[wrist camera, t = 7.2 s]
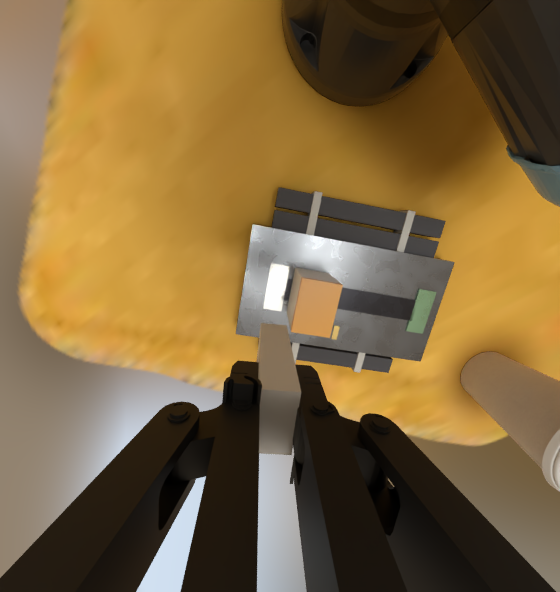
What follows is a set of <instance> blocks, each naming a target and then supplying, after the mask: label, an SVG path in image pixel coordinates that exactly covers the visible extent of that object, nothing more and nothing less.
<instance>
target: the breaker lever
mask: <svg viewBox="0 0 560 592" xmlns="http://www.w3.org/2000/svg"><path fill="white" fill-rule="evenodd" d="M342 287H343V285H342V284H341V283H340V282H338V281H337V280H336V279H335V278H334V277H333V276H331V275H330V274H329V273H324V272H319V271H313V270H307V269H302V268H296V267H295V272H294V277H293V282H292V287H291V292H290V297H289V302H288V307H287V317H288V321H289V325H290V329H291V332H294V333H300V334H307V335H313V336H320V337H327V338H330V335H331V331H332V327H333V323H334V319H335V315H336V311H337V307H338V303H339V299H340V295H341V291H342Z"/></svg>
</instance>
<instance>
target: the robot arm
mask: <svg viewBox="0 0 560 592" xmlns="http://www.w3.org/2000/svg"><path fill="white" fill-rule="evenodd" d="M282 22H283V30H284V35H285V39H286V43H287V46H288V49H289V52H290V55H291V57H292V59H293V61H294V63H295V65H296V67H297V69H298V70H299V72H300V73H301V75H302V76H303V77H304V79H305V80H306V81H307V82H308V83H309V84H310V85H311V86H312V87H313V88H314V89H315V90H316V91H318V92H319V93H320V94H322V95H323V96H325V97H327V98H328V99H330V100H332V101H335V102H337V103H341V104H344V105H349V106H368V105H373V104H377V103H380V102H383V101H386V100H388V99H390V98H392V97H394V96H395V95H397V94H398V93H400V92H401V91H403V90H404V89H405V88H406V87H407V86H409V85H410V84H411V83H412V82H413V81H414V80H415V79H416V78H417V77H418V76H419V75H420V74H421V73H422V72H423V71H424V70H425V69H426V68H427V67H428V65H429V64H430V63H431V62H432V60H433V59H434V57H435V56H436V54H437V53H438V51H439V50H440V48H441V46H442V45H443V43H444V41H445V39H446V37H447V34H448V35H449V36H450V38H451V40H452V43H453V44H454V46H455V48H456V50H457V52H458V54H459V55H460V57H461V59H462V61H463V63H464V65H465V66H466V68H467V70H468V72H469V74H470V76H471V77H472V79H473V81H474V83H475V85H476V87H477V88H478V90H479V92H480V94H481V96H482V98H483V99H484V101H485V103H486V105H487V107H488V109H489V110H490V112H491V114H492V116H493V118H494V120H495V121H496V123H497V125H498V127H499V129H500V131H501V133H502V134H503V136H504V138H505V140H506V142H507V144H508V146H507V148H506V149H507V152H508V155H509V156H510V158H511V159H512V160H513V161H514V162H516V163H518V164H519V165H520V166H521V167H522V169H523V170H524V172H525V173H526V175H527V177H528V178H529V180H530V181H531V183H532V184H533V186H534V187H535V189H536V190H537V192H538V193H539V194H540V195H541V196H542V197H543V198H545V199H546V200H547V201H549V202H551V203H553V204H555V205H557V206H560V0H282ZM293 447H294V459H293V466H292V472H291V478H290V484H293V480H294V484H295V492H296V502H297V510H298V519H299V528H300V537H301V545H302V553H303V562H304V571H305V580H306V589H307V592H556V591H555V590H554V589H553V588H552V587H551V586H550V585H549V584H548V583H547V582H546V581H545V580H544V579H543V578H542V577H541V575H540V574H539V573H538V572H537V571H536V570H535V569H534V568H533V567H532V566H531V565H530V564H529V563H528V562H527V561H526V560H525V559H524V558H523V557H522V556H521V555H520V554H519V553H518V552H517V550H516V549H515V548H514V547H513V546H512V545H511V544H510V543H509V542H508V541H507V540H506V539H505V538H504V537H503V536H502V535H501V534H500V533H499V532H498V531H497V530H496V528H495V527H494V526H493V525H492V524H491V523H489V521H488V520H487V519H486V518H485V517H484V516H483V515H482V514H481V513H480V512H479V511H478V510H477V509H476V508H475V507H474V505H473V504H472V503H470V501H469V500H468V499H467V498H466V497H465V496H464V495H463V494H462V493H461V492H460V491H459V490H458V489H457V488H456V487H455V486H454V485H453V484H452V483H451V481H450V480H449V479H448V478H447V477H446V476H445V475H444V474H443V473H442V472H441V471H440V470H439V469H438V468H437V467H436V466H435V465H434V464H433V463H432V462H431V461H430V460H429V459H428V457H427V456H426V455H425V454H424V453H423V452H422V451H421V450H420V449H419V448H418V447H417V446H416V445H415V444H414V443H413V442H412V441H411V440H410V439H409V438H408V437H407V436H406V434H405V433H404V432H403V431H402V430H401V429H400V428H399V427H398V426H397V425H396V424H395V423H394V422H392V421H391V420H390V419H388V418H386V417H384V416H382V415H379V414H365V415H363V416H362V417H361V419H360V422H356V421H353V420H350V419H347V418H344V417H342V416H340V415H339V413H338V410H337V409H336V407H335V406H334V405H333V404H331V403H330V402H328V401H327V399H326V396H325V393H324V390H323V387H322V385H321V382H320V379H319V376H318V373H317V371H316V370H315V369H314V368H313V367H312V366H307V365H295V361H294V357H293V352H292V348H291V343H290V339H289V334H288V330H287V325H277V324H267V323H261V327H260V336H259V345H258V354H257V362H248V361H237V362H236V363H235V364H234V365H233V366H232V370H231V374H230V377H228V378H226V380H225V382H224V390H223V403H222V404H221V405H220V406H219V407H217V408H215V409H212V410H208V411H203V412H199V409H198V408H197V407H196V406H195V405H194V404H191V403H189V402H176V403H172V404H169V405H167V406H165V407H163V408H162V409H161V410H160V411H159V412H158V413H157V414H156V415H155V416H154V417H153V418H152V419H151V420H150V421H149V423H147V425H145V426H144V427H143V429H142V430H141V431H140V432H139V433H138V434H137V435H136V436H135V437H134V438H133V439H132V440H131V441H130V442H129V443H128V444H127V445H126V446H125V447H124V449H123V450H122V451H121V452H120V453H119V454H118V455H117V456H116V457H115V458H114V459H113V460H112V461H111V462H110V463H109V464H108V465H107V466H106V468H105V469H104V470H103V471H102V472H101V473H100V474H99V475H98V476H97V477H96V478H95V479H94V480H93V481H92V482H91V483H90V484H89V485H88V486H87V487H86V489H85V490H84V491H83V492H82V493H81V494H80V495H79V496H78V497H77V498H76V499H75V500H74V501H73V502H72V503H71V504H70V505H69V507H67V508H66V510H65V511H64V512H63V513H62V514H61V515H60V516H59V517H58V518H57V519H56V520H55V521H54V522H53V523H52V524H51V525H50V526H49V527H48V528H47V530H46V531H45V532H44V533H43V534H42V535H41V536H40V537H39V538H38V539H37V540H36V541H35V542H34V543H33V544H32V545H31V546H30V547H29V549H28V550H27V551H26V552H25V553H24V554H23V555H22V556H21V557H20V558H19V559H18V560H17V561H16V562H15V564H13V565H12V566H11V568H10V569H9V570H8V571H7V572H6V573H5V574H4V575H3V576H2V577H1V578H0V592H136V591H137V588H138V587H139V585H140V583H141V581H142V580H143V578H144V576H145V574H146V572H147V570H148V568H149V567H150V565H151V563H152V561H153V559H154V557H155V556H156V553H157V552H158V550H159V548H160V546H161V544H162V542H163V541H164V539H165V537H166V535H167V533H168V531H169V529H170V528H171V526H172V524H173V522H174V520H175V519H176V517H177V515H178V513H179V511H180V509H181V507H182V506H183V503H184V502H185V500H186V498H187V496H188V494H189V493H190V491H191V489H192V487H193V485H194V483H195V480H196V478H200V477H204V476H206V480H205V484H204V489H203V494H202V498H201V502H200V507H199V512H198V516H197V520H196V525H195V529H194V534H193V538H192V543H191V547H190V552H189V557H188V561H187V566H186V570H185V575H184V580H183V584H182V589H181V592H257V539H258V533H257V532H258V478H259V477H258V476H259V453H264V454H284V455H291V454H292V448H293ZM388 478H389V479H390V481H391V482H392V484H393V485H394V486H395V487H393V486H392V485H391V484H390V482H389V481H388Z"/></svg>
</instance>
